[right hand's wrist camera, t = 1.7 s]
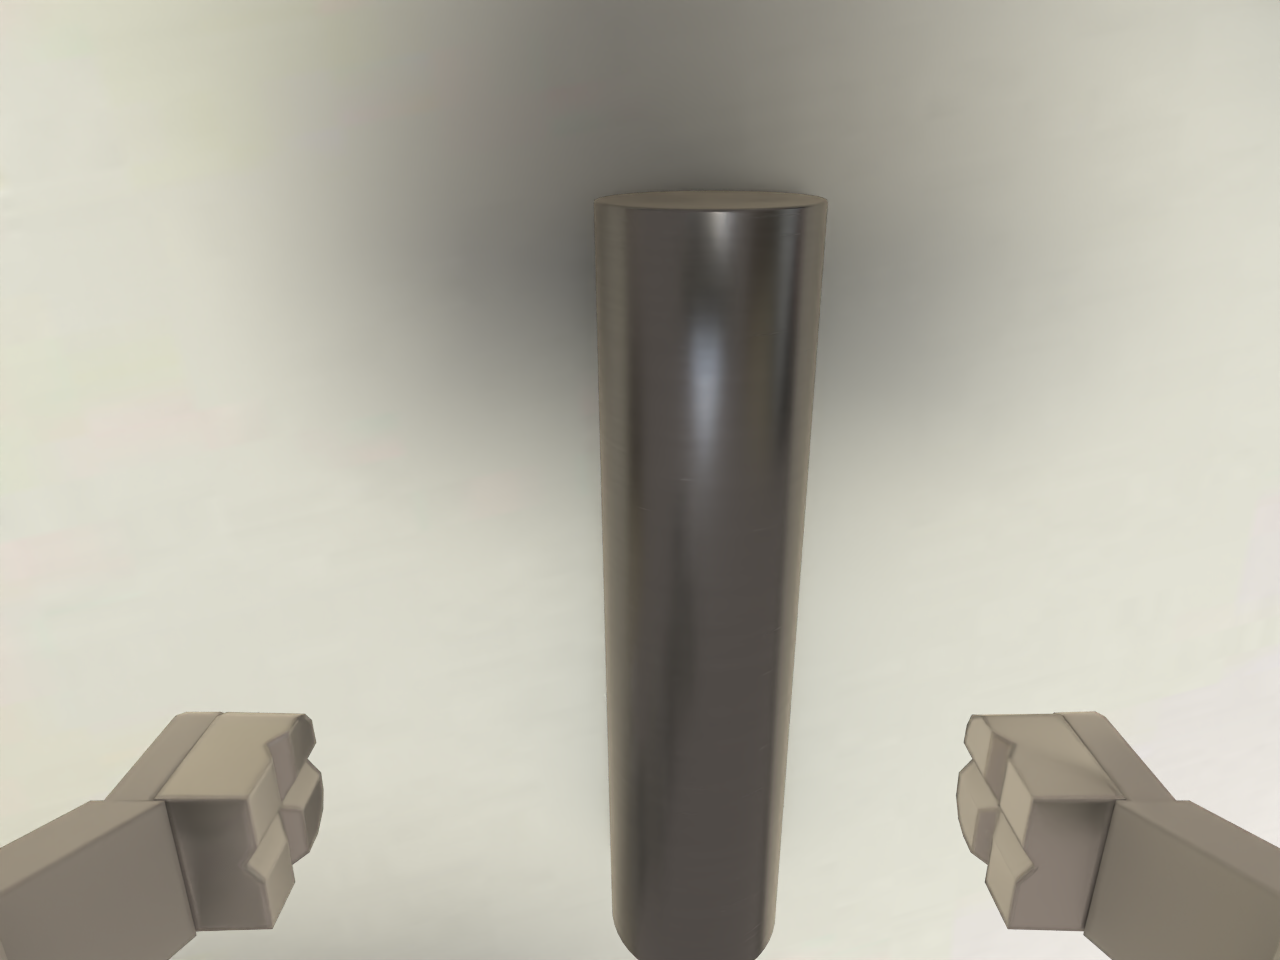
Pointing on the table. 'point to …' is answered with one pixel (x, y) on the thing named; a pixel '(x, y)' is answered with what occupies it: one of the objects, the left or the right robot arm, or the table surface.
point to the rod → (702, 549)
